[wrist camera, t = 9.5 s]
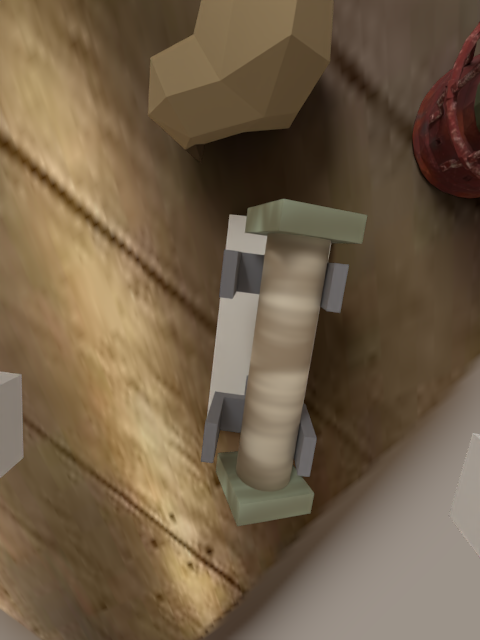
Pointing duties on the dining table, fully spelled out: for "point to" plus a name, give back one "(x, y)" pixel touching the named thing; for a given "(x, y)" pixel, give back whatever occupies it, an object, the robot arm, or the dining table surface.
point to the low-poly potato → (240, 69)
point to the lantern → (452, 127)
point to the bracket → (251, 339)
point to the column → (282, 357)
